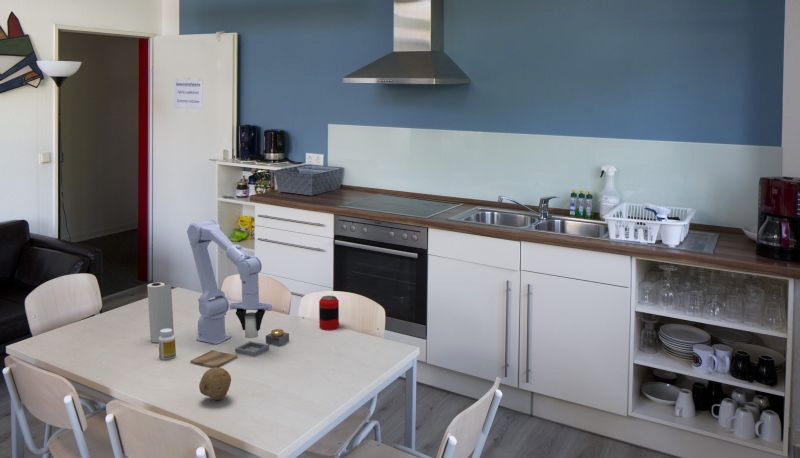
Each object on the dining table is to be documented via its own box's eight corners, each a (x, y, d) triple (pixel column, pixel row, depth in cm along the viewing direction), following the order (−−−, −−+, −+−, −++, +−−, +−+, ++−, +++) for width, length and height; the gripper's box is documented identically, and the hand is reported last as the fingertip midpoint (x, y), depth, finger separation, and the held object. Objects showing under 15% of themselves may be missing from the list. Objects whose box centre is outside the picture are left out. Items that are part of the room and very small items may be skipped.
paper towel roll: (147, 341, 251) (143, 285, 247) (158, 336, 256) (155, 281, 252) (162, 344, 248) (159, 287, 244) (174, 339, 254) (171, 283, 249)
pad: (190, 362, 232) (190, 360, 232) (212, 352, 241) (212, 350, 241) (216, 368, 227) (216, 366, 227) (237, 357, 237) (237, 355, 237)
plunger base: (265, 343, 250) (265, 335, 250) (275, 338, 256) (275, 330, 255) (279, 346, 248) (279, 338, 247) (289, 341, 253) (288, 333, 253)
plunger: (268, 340, 250) (268, 332, 250) (276, 336, 254) (275, 328, 254) (278, 342, 249) (278, 333, 248) (285, 338, 253) (285, 330, 252)
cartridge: (242, 337, 241) (241, 315, 240) (250, 333, 245) (249, 311, 244) (252, 339, 239) (252, 317, 238) (260, 335, 243) (260, 313, 242)
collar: (235, 352, 241) (234, 348, 241) (250, 345, 249) (249, 341, 248) (254, 356, 238) (254, 352, 237) (269, 348, 245) (269, 344, 245)
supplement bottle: (179, 355, 238) (177, 328, 236) (169, 361, 233) (167, 333, 231) (166, 353, 240) (164, 326, 238) (156, 358, 235) (154, 331, 233)
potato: (202, 408, 198) (200, 376, 196) (197, 396, 206) (196, 364, 204) (234, 403, 202) (232, 371, 200) (228, 391, 210) (227, 360, 208)
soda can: (337, 330, 265) (337, 300, 263) (318, 330, 265) (317, 300, 263) (339, 324, 272) (339, 294, 270) (320, 323, 272) (320, 294, 270)
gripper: (273, 289, 242) (274, 326, 245) (233, 288, 244) (234, 325, 246) (268, 295, 236) (269, 333, 238) (227, 294, 237) (228, 331, 239)
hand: (251, 329), depth 242 cm, fingers closed on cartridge, 4 cm apart
